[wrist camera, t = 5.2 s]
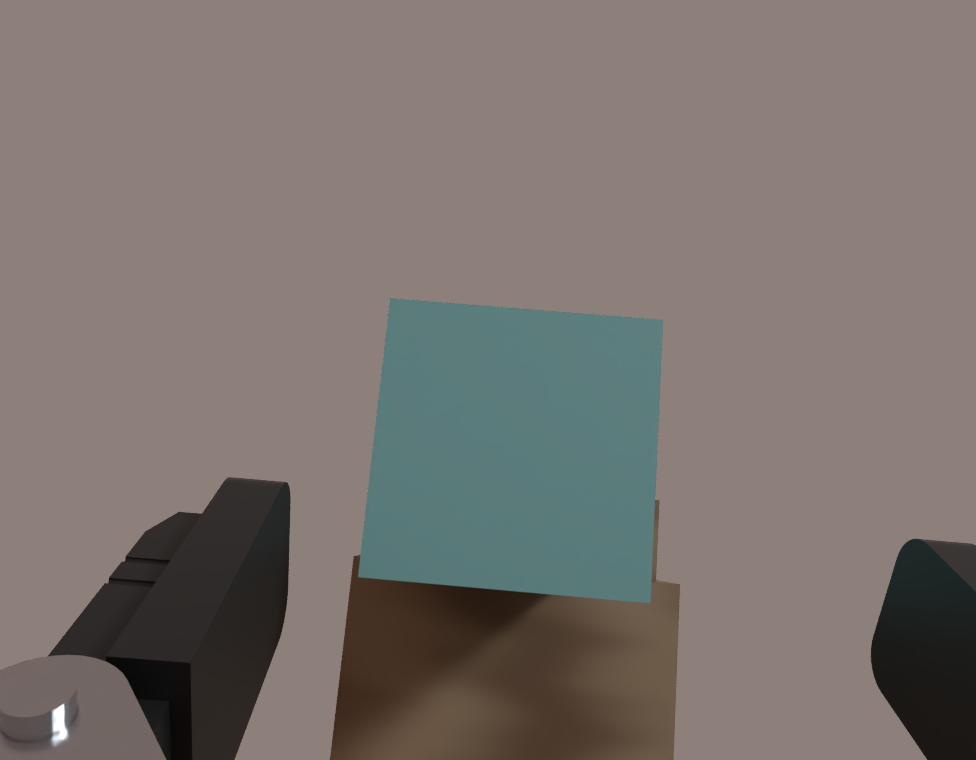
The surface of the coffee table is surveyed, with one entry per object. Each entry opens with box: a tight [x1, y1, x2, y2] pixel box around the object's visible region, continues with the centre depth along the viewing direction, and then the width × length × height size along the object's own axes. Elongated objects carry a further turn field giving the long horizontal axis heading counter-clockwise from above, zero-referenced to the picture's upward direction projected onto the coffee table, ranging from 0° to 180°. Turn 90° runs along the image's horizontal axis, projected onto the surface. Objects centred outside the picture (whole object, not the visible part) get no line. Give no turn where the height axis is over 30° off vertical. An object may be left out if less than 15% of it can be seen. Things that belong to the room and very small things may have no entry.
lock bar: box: [358, 299, 663, 603], centre depth 23 cm, size 4×26×4 cm, turn 179°
